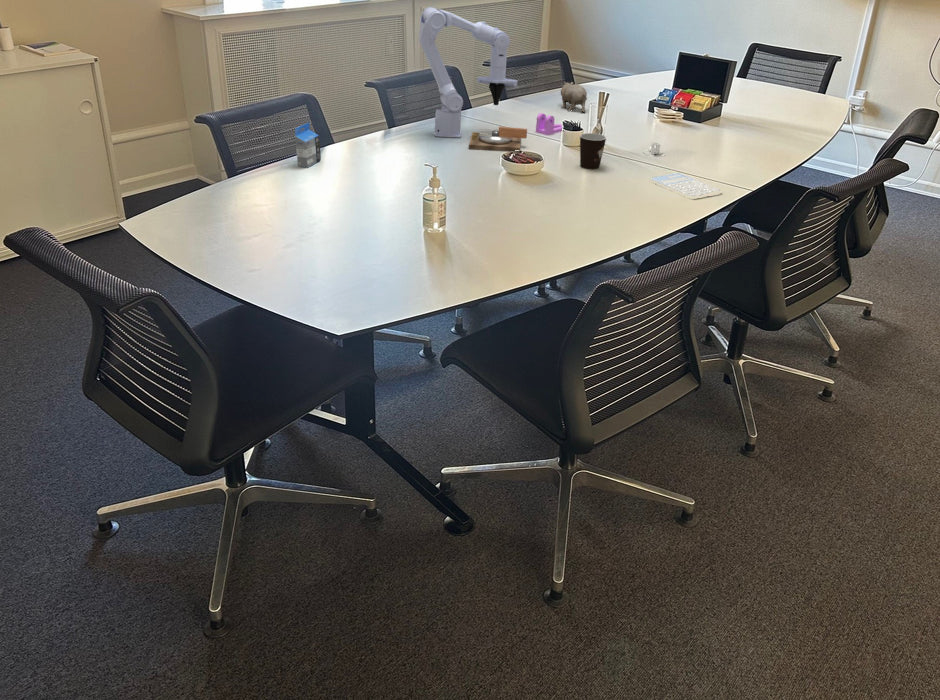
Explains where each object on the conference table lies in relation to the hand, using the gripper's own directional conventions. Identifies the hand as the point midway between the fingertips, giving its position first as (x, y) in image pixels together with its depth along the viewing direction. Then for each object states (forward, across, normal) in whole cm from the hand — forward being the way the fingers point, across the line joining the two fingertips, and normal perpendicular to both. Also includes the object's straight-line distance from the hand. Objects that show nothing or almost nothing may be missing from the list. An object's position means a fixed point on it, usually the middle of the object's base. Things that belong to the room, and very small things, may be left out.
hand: (496, 104), depth 300 cm
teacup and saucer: (+11, +62, -4) cm, 63 cm away
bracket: (+11, +20, +11) cm, 26 cm away
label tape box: (+11, -49, -59) cm, 77 cm away
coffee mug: (+11, +40, -28) cm, 50 cm away
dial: (+9, +6, -14) cm, 18 cm away
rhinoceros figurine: (+11, +22, +50) cm, 56 cm away
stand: (+10, +4, -15) cm, 18 cm away
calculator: (+11, +70, -40) cm, 82 cm away
